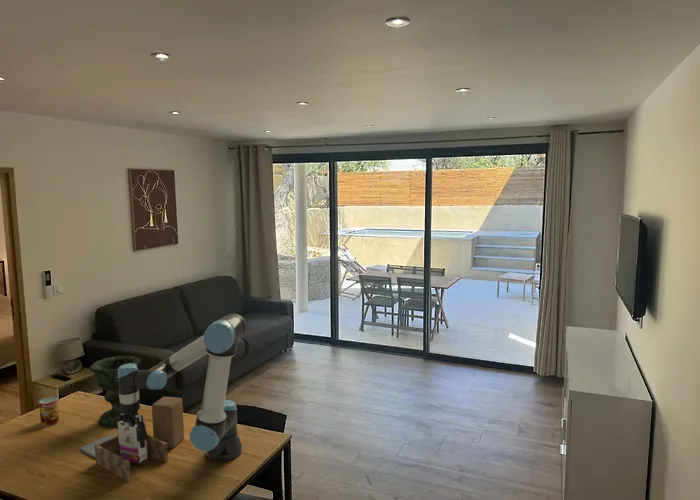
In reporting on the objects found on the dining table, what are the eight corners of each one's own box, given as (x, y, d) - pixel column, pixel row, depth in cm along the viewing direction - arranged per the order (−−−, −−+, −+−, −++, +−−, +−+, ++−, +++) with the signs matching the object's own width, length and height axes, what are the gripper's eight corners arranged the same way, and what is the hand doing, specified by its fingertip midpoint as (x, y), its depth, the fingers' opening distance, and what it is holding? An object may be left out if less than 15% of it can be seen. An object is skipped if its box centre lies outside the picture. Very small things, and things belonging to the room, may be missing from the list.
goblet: (121, 433, 232) (117, 372, 228) (83, 427, 238) (79, 368, 234) (152, 413, 253) (149, 357, 249) (116, 408, 259) (113, 353, 255)
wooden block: (173, 449, 216) (171, 406, 214) (153, 447, 218) (150, 404, 216) (185, 438, 226) (183, 397, 224) (165, 436, 228) (163, 395, 226)
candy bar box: (148, 458, 206) (146, 421, 204) (139, 464, 201) (136, 426, 199) (128, 453, 210) (126, 417, 208) (119, 459, 205) (116, 422, 203)
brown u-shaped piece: (167, 461, 207) (167, 443, 206) (128, 481, 192) (127, 462, 191) (135, 445, 220) (134, 428, 219) (96, 463, 205) (94, 445, 205)
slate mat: (127, 445, 220) (127, 443, 220) (96, 459, 209) (96, 456, 209) (110, 436, 228) (110, 434, 228) (80, 449, 217) (80, 447, 216)
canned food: (45, 428, 237) (43, 404, 236) (37, 424, 241) (35, 401, 240) (62, 421, 244) (60, 398, 242) (54, 418, 248) (52, 395, 247)
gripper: (154, 404, 199) (158, 454, 201) (122, 392, 212) (125, 439, 215) (138, 411, 193) (141, 462, 195) (105, 398, 206) (109, 446, 209)
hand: (133, 450), depth 205 cm, fingers closed on candy bar box, 12 cm apart
